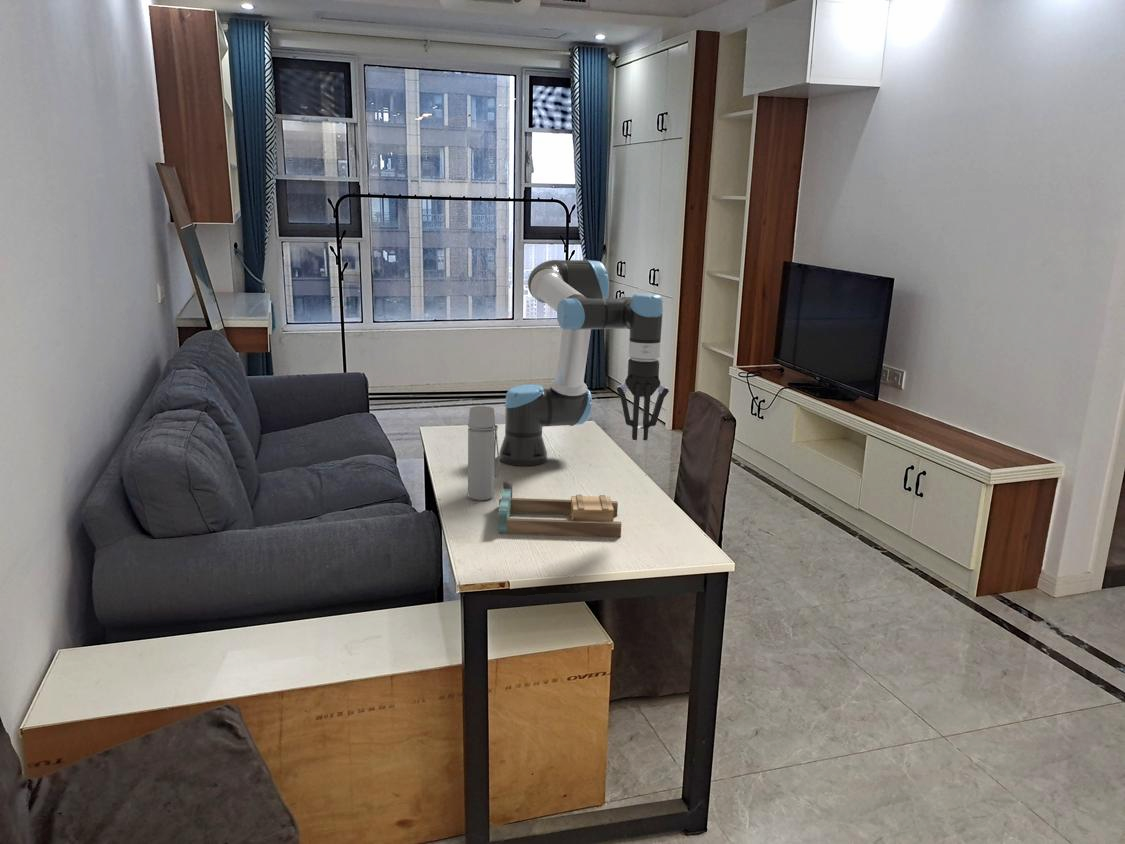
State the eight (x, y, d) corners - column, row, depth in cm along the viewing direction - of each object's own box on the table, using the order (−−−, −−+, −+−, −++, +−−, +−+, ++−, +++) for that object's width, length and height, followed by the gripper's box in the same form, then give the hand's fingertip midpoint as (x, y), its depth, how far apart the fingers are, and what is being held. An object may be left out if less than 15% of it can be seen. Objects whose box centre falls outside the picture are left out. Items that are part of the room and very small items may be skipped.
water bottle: (473, 503, 223) (474, 413, 217) (463, 494, 230) (463, 406, 224) (505, 499, 227) (506, 410, 221) (493, 490, 234) (494, 403, 228)
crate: (570, 517, 216) (571, 494, 214) (608, 518, 217) (610, 495, 215) (572, 532, 206) (573, 508, 205) (612, 532, 207) (613, 508, 205)
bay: (499, 504, 223) (500, 479, 221) (615, 508, 223) (617, 483, 222) (493, 533, 204) (493, 506, 202) (620, 537, 204) (622, 510, 202)
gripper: (618, 360, 197) (613, 456, 203) (672, 362, 197) (666, 457, 203) (616, 355, 204) (611, 447, 210) (669, 356, 204) (663, 449, 210)
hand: (638, 452), depth 206 cm, fingers closed
